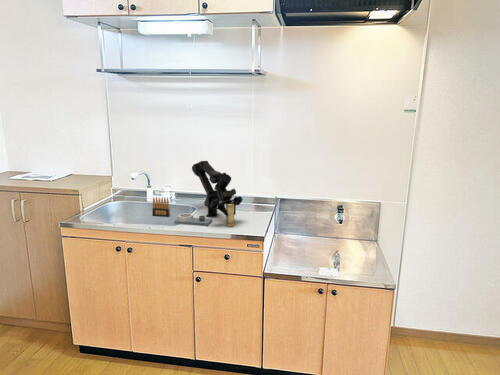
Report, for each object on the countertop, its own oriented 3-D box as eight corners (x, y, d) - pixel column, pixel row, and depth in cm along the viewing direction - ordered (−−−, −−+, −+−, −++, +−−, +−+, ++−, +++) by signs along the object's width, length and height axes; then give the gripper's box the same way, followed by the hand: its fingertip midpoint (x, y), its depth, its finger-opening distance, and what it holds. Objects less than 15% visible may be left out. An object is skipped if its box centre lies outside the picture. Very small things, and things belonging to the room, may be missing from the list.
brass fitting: (227, 224, 213) (227, 202, 210) (234, 224, 212) (234, 202, 209) (225, 226, 209) (225, 204, 206) (233, 227, 208) (233, 205, 205)
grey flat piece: (179, 218, 221) (179, 212, 221) (212, 221, 218) (212, 214, 217) (174, 223, 213) (174, 216, 212) (208, 226, 210) (208, 219, 209)
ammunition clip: (170, 216, 226) (169, 197, 224) (169, 217, 225) (168, 198, 222) (153, 215, 228) (152, 196, 226) (152, 216, 226) (151, 197, 224)
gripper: (211, 186, 204) (221, 210, 197) (241, 182, 213) (251, 205, 207) (205, 196, 212) (214, 220, 205) (234, 193, 222) (243, 215, 215)
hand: (231, 215), depth 208 cm, fingers closed on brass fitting, 4 cm apart
